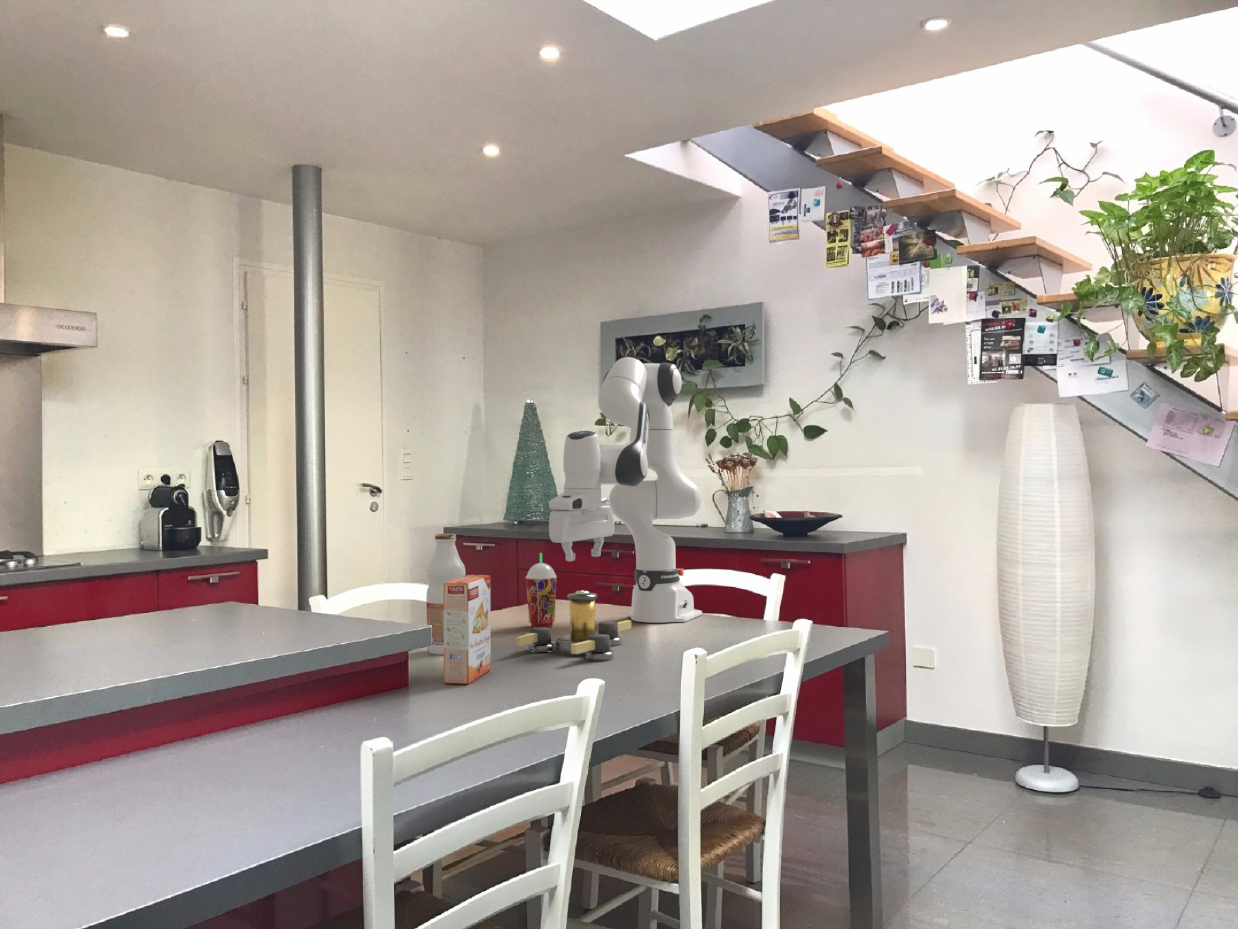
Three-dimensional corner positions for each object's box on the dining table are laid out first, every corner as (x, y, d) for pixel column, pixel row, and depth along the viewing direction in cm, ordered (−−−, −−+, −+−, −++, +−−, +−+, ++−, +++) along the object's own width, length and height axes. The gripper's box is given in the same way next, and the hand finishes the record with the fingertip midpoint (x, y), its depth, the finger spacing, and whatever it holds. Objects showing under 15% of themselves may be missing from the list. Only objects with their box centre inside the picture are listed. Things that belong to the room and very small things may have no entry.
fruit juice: (439, 657, 228) (437, 536, 228) (420, 651, 236) (418, 534, 235) (474, 651, 234) (472, 534, 234) (454, 646, 242) (452, 531, 241)
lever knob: (610, 638, 238) (610, 625, 238) (594, 636, 241) (594, 623, 241) (636, 631, 247) (636, 618, 247) (621, 629, 250) (621, 617, 250)
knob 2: (597, 647, 228) (597, 633, 228) (614, 649, 225) (613, 635, 225) (565, 655, 219) (565, 641, 219) (581, 657, 216) (581, 643, 216)
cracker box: (470, 685, 200) (469, 582, 200) (442, 684, 201) (440, 582, 201) (493, 670, 213) (491, 574, 213) (466, 669, 215) (465, 573, 214)
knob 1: (539, 639, 238) (539, 626, 238) (555, 641, 235) (555, 628, 235) (509, 647, 229) (509, 634, 229) (525, 649, 226) (525, 635, 226)
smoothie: (556, 629, 263) (554, 554, 263) (524, 629, 263) (523, 554, 263) (558, 623, 272) (557, 551, 271) (528, 624, 272) (527, 551, 272)
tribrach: (578, 637, 251) (577, 580, 251) (655, 646, 237) (655, 587, 237) (522, 651, 234) (521, 590, 234) (602, 662, 220) (601, 598, 220)
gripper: (599, 497, 242) (600, 553, 243) (543, 502, 226) (544, 562, 227) (620, 497, 239) (620, 554, 239) (564, 503, 222) (565, 564, 223)
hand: (583, 558), depth 233 cm, fingers open, 8 cm apart
